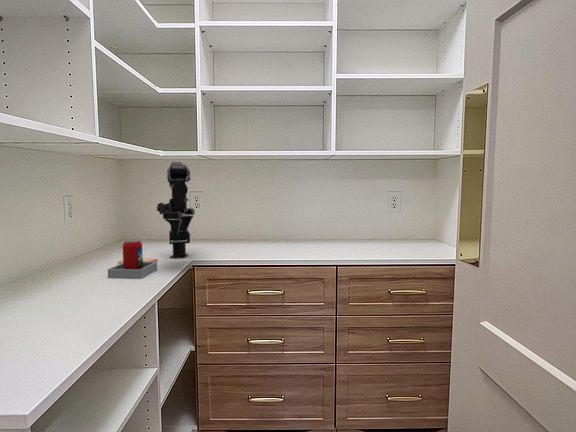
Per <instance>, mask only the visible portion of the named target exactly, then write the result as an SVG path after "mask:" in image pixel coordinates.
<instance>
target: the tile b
mask: <svg viewBox="0 0 576 432" xmlns="http://www.w3.org/2000/svg"><path fill="white" fill-rule="evenodd" d="M143 262H157V263H158V262H159V259H158V258H154V257H143Z"/></svg>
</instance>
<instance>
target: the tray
mask: <svg viewBox="0 0 576 432" xmlns="http://www.w3.org/2000/svg"><path fill="white" fill-rule="evenodd" d="M156 271H158V261H157V262H143V268H142V269H140V270H138V269H124V266H123V263H122V264H117V265H115V266H112V267H110V268H107V278H109V279H139V280H141V279H143V278H145V277H148V275H151V274H153V273H155V272H156Z"/></svg>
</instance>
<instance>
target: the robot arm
mask: <svg viewBox="0 0 576 432" xmlns="http://www.w3.org/2000/svg"><path fill="white" fill-rule="evenodd" d="M166 172H167V176H166V177H167V178H166V179H167V180H166V181H167V182H168V183H169V185H168V186H169V188H170V190H171V198H170V199H169V201H168V203H163V202H160V203H156V204H157V205H156V212H158V214H159V215H162V219H163V220H164V221H165V222H167V223H168V224H169V226H170V230H168V231H169V232H168V233H169V234H168V235H169V239H168V240H169V245H172V255H169V258H176V259H177V258H186V257H188V256H189V255H190V254H189V253H187V251H186V250H187V249H186V245H187V244H189V243H190V244H191V233H190V231H189V229H188V228H189V227H190V225H191V222H192V220H193V218H194V215H195V214H196V213H195V212H196V211H195V209H194V208H192V207H189V208H188V206H187V205H188V204H187V202H189V198H188V196H187V194H188V186H187V185H186V184H187V182H188V183H189V182H190V181H191V171H190V170H189V167H187V164H183V162H178V161H176V162H175V161H173V162H170V165H169V167H168V168H167V170H166Z"/></svg>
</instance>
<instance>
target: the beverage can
mask: <svg viewBox="0 0 576 432" xmlns="http://www.w3.org/2000/svg"><path fill="white" fill-rule="evenodd" d="M122 259H123V266H124V269H138V270H140V269H142V268H143V259H144V255H143V244H142V242H141V240H140V239H127V240H126V239H125V240H124V242H123V244H122Z"/></svg>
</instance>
